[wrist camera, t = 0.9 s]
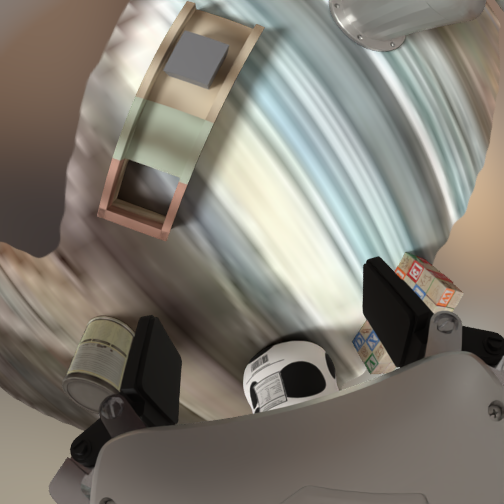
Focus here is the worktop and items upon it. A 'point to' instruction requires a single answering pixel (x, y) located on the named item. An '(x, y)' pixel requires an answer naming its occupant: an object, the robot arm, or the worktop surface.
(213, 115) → the lane
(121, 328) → the coffee can
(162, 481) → the robot arm
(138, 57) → the worktop surface
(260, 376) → the milk container
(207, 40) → the block
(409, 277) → the stack of blocks
